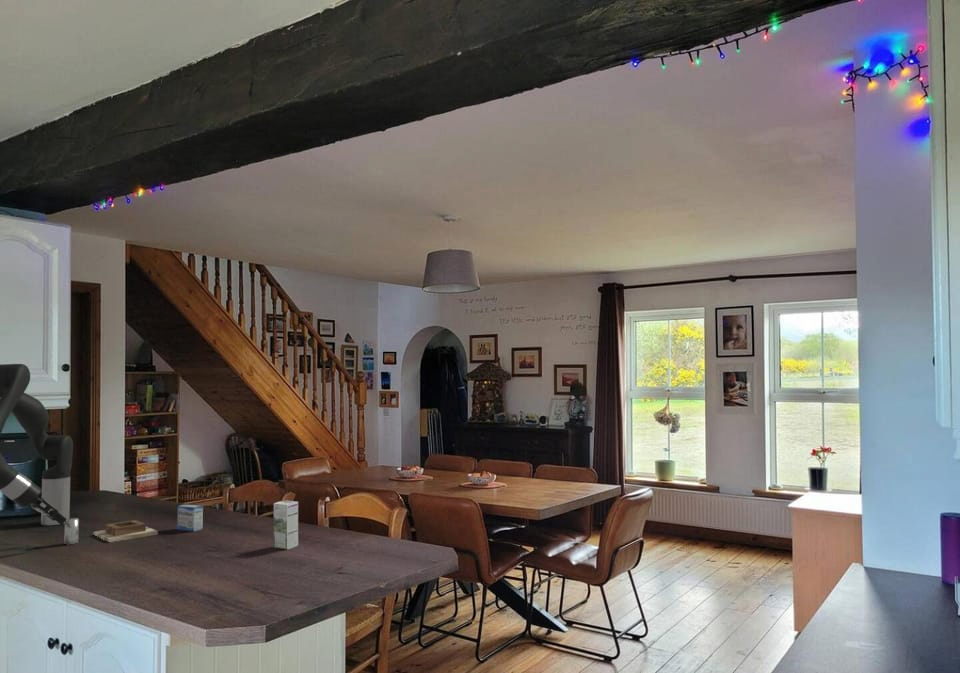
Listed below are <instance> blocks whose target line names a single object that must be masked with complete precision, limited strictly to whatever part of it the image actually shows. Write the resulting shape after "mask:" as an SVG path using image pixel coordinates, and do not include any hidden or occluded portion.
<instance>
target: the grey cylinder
mask: <svg viewBox="0 0 960 673" xmlns="http://www.w3.org/2000/svg"><path fill="white" fill-rule="evenodd" d="M79 524H80V519H79V518H78V517H77V518H69V519H66V521H65V523H64V542H63V543H64V544H66V545H65V546H70V545H69V544H75V543H78V544H79V530H80V529H79ZM75 545H76V544H75Z"/></svg>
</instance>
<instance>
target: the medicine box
mask: <svg viewBox="0 0 960 673" xmlns="http://www.w3.org/2000/svg"><path fill="white" fill-rule="evenodd" d="M203 513H204V506H203V505H197V504H181V505H178V506H177V526H176V527H177V531H182V532H183V531H184V532H193V533H194V532H197V531H202V530H203V529H204V528H203V527H204V526H203V524H204V523H203V519H204V518H203V516H204V515H203Z"/></svg>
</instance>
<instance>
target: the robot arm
mask: <svg viewBox="0 0 960 673" xmlns="http://www.w3.org/2000/svg"><path fill="white" fill-rule="evenodd" d="M30 381H31V372H30V369H29V367H28V366H27V365H26V364H23V363H8V364H7V363H6V364H4V363H1V364H0V436H1V434H2V433H3V432H2V431H3V430H4V427H5V425H6V422H7V420H8V418H9V416H10V414H11V413H12V414H13V416H14V418H15V419H16V420H17V422H18V423H19V425H20V426H21V427H22V428H23V430H24V431H25V433H26V434H27V436H28V437H29V439H30V441H31V443H32V444H33V447H34V449H35V451H36V453H37V454H38V456H39V457H40V458H41V459H42V460H46V461H47V460H48V461H50V460H51V461H55V460H57V461H56V464H55V465H54V466H52V467H51V468H46V469H45V470H43V471H42V475H41V476H42V477H41V487H40V486H38V484H36V483H35V482H33V481H32V480H31V479H30V478H28V477H27V476H26V475H24V474H22V473H21V472H19V471H18V470H17V469H15V468H14V467H13V466H11V465H9V463H8V462H7V461H6V459H5V457H4V455H2V452H0V492H2V494H3V495H4V496H6V497H7V498H8V499H10V500H11V501H12V502H13V503H15V504H17V505H18V506H19V507H20V508H22V509H23V508H26V507H28V506H30V505H31V506H30V507H31V508H32V510H34V511H37V512H38V513H41V514H40V516H41V517H40V525H42V526H57V525H63V524H64V525H65V521H66V519H70V507H71V506H70V505H71V504H70V503H71V471H72V467H73V452H74V451H73V450H74V441H73V438H72V437H71V436H70V435H64V434H62V435H60V434H59V435H52V434H51V435H50V434H48V433H47V432H46V431H45V430H46V428H47V426H48V424H49V421H50V414H49V413H48V410H47V409H46V407H45V406H44V404H43V403H42V402H41V401H40V400H39V399H37V398H36V397H34V396H32V395H30V394H28V393H26V392H25V391H26V390H27V388H28V386H29V384H30ZM40 495H41V496H40ZM39 496H40V497H39Z"/></svg>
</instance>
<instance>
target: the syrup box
mask: <svg viewBox="0 0 960 673" xmlns="http://www.w3.org/2000/svg"><path fill="white" fill-rule="evenodd" d="M296 547H299V501H293V500H280V501H276V502H274V503H273V548H274V549H280V550H291V549H294V548H296Z"/></svg>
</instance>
